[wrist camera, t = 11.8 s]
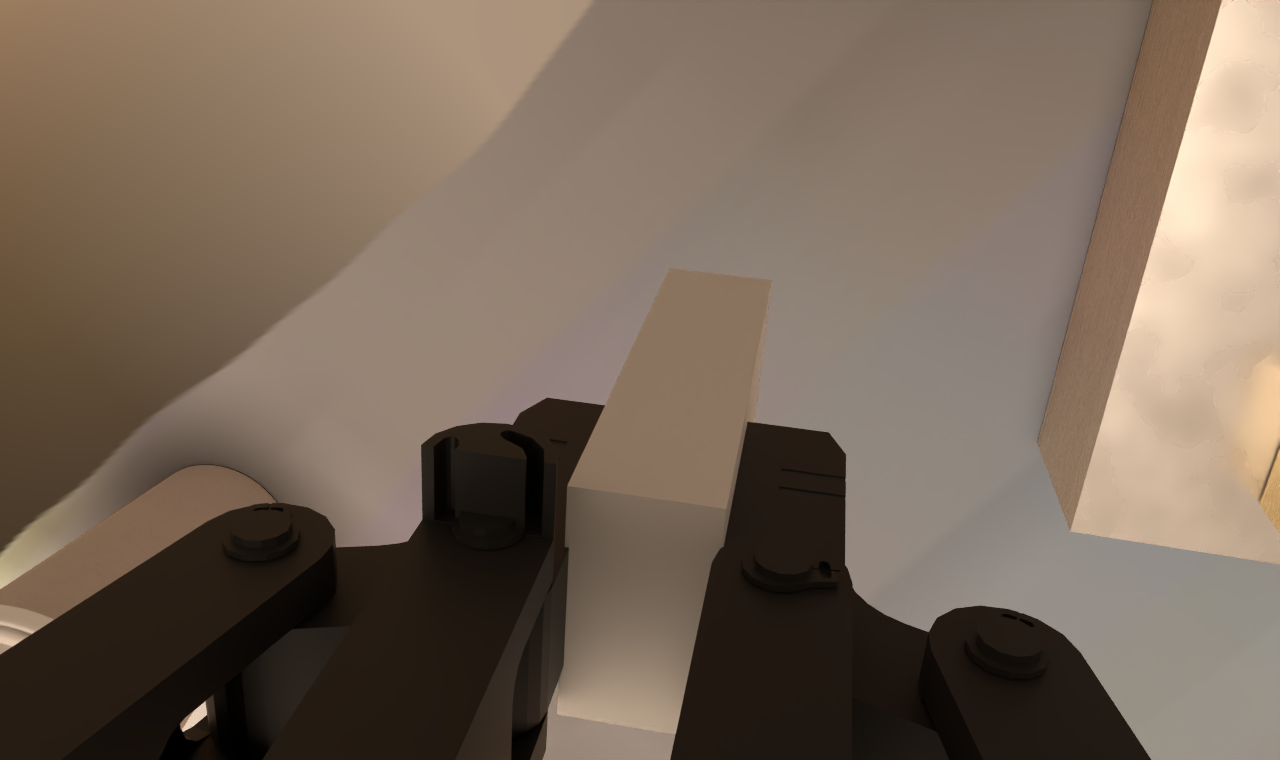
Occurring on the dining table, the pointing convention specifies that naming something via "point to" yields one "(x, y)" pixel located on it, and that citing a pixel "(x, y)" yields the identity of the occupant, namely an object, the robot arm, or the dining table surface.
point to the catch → (1273, 495)
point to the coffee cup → (121, 546)
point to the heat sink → (1181, 298)
